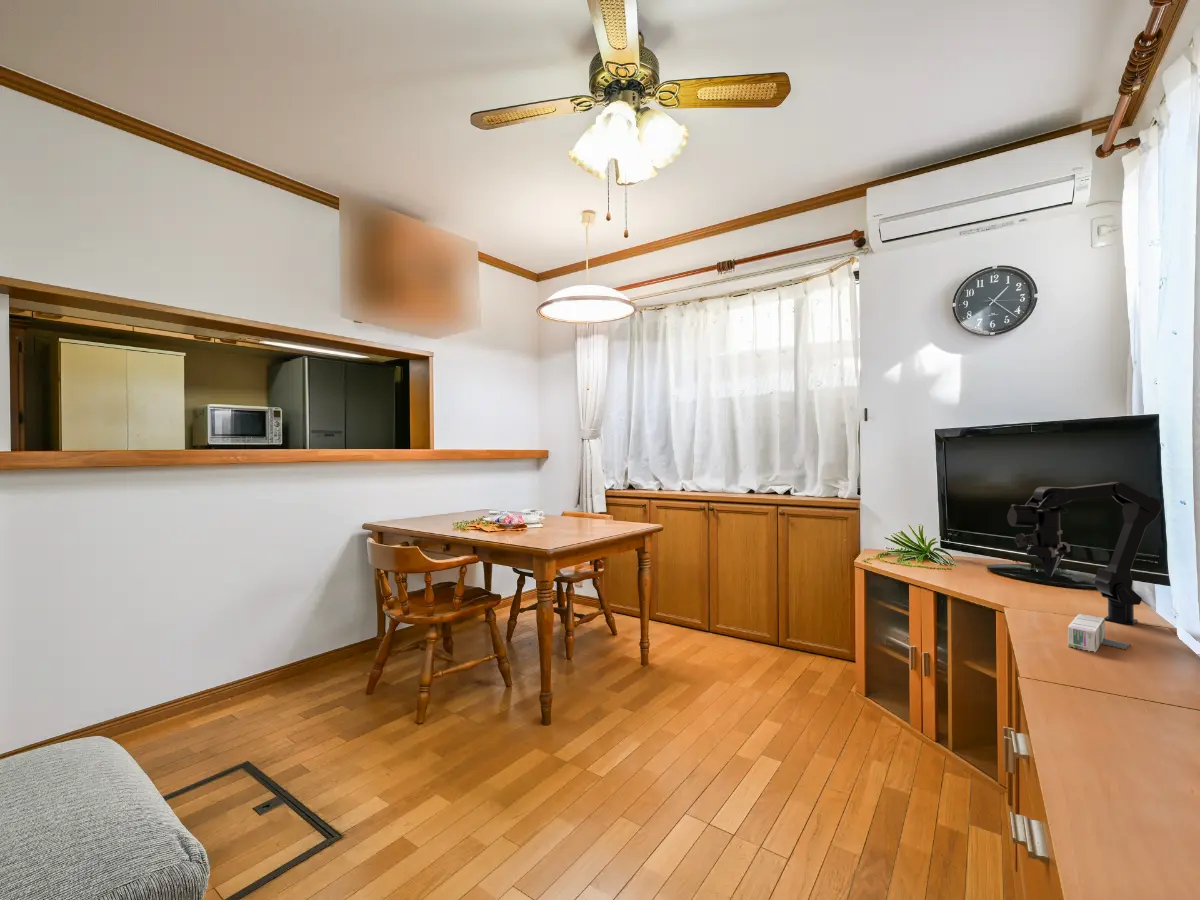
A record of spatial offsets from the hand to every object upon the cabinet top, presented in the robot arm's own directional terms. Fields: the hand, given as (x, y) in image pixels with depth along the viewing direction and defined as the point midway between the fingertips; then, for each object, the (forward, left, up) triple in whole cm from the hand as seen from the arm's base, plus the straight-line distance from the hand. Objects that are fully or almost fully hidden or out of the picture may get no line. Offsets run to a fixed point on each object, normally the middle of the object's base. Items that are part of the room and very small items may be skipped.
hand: (1049, 576), depth 171 cm
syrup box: (+14, +13, -10) cm, 22 cm away
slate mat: (+16, +17, -13) cm, 27 cm away
